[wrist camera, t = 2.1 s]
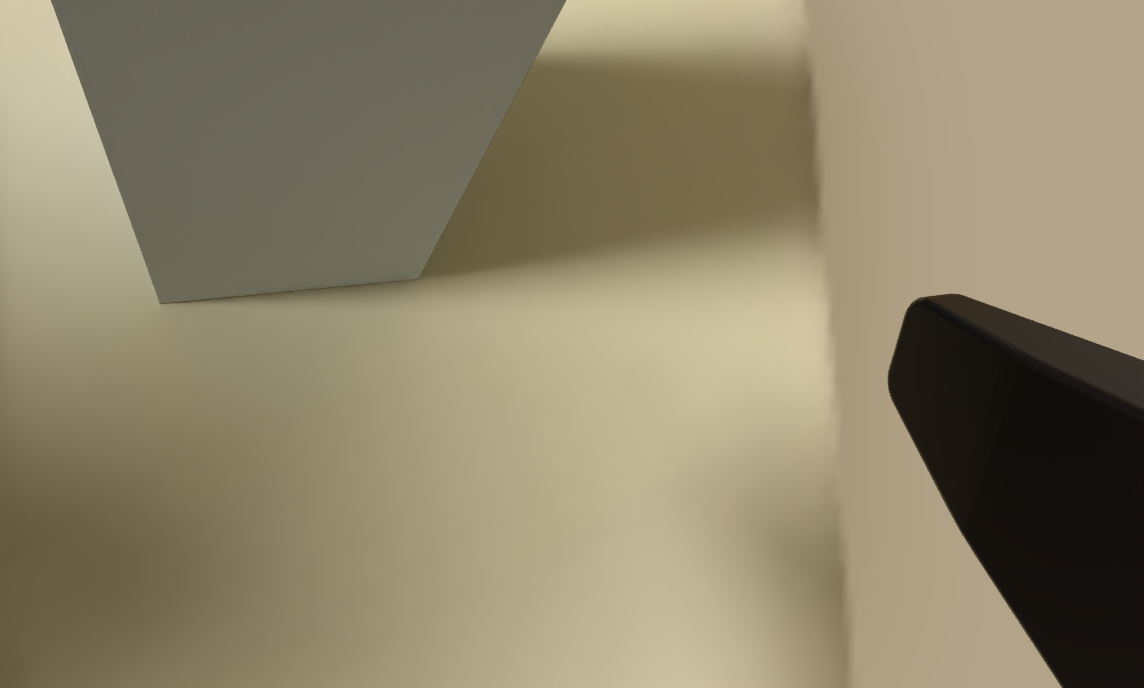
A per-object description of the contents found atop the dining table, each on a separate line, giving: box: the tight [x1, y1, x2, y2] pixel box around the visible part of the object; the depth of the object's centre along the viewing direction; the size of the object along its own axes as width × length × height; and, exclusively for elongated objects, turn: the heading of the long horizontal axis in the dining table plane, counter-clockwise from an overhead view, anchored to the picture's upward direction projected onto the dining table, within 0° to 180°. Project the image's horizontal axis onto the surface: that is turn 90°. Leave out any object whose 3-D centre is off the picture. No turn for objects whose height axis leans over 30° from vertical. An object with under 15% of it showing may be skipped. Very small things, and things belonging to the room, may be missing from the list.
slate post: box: [51, 0, 566, 304], centre depth 16 cm, size 5×5×12 cm
